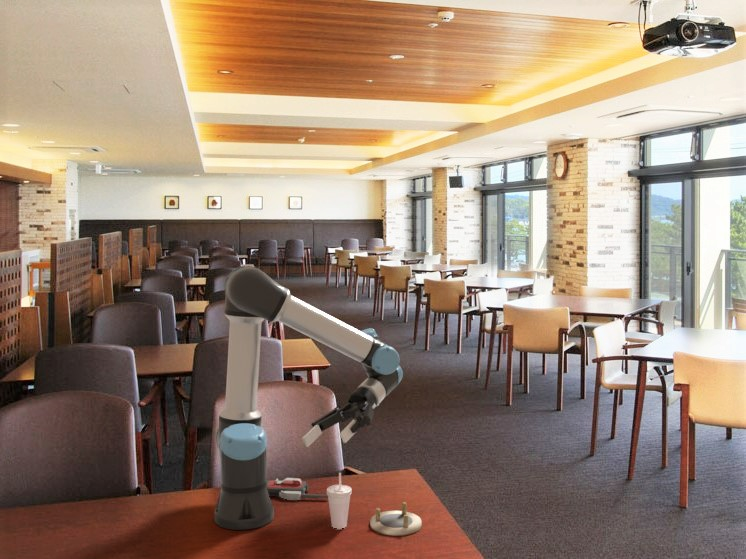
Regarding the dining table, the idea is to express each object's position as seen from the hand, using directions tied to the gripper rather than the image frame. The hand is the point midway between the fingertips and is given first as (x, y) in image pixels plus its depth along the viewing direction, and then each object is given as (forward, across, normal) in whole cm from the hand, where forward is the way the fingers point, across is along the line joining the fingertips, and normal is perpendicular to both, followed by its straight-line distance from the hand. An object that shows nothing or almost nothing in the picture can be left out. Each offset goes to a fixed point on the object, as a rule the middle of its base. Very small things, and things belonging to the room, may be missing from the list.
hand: (323, 440), depth 183 cm
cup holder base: (0, -10, -26) cm, 28 cm away
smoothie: (+8, 0, -20) cm, 22 cm away
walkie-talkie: (-1, +23, -17) cm, 29 cm away
